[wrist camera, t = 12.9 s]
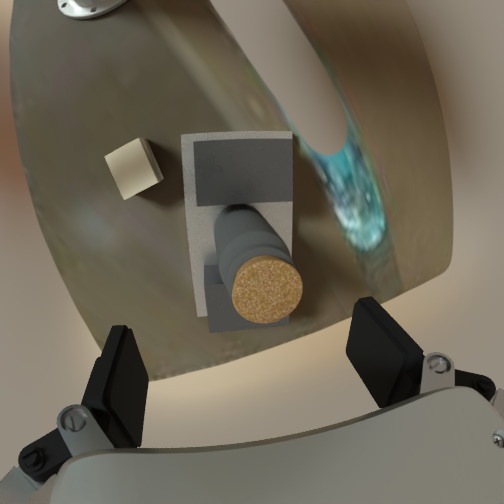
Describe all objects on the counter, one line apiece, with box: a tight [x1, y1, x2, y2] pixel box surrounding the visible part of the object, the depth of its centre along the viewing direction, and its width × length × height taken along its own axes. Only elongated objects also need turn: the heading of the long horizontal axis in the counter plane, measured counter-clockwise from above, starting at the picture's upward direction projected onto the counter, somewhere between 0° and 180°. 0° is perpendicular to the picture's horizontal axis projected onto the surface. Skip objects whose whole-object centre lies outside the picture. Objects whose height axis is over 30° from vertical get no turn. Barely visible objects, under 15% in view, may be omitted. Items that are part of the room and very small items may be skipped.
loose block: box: [105, 138, 164, 200], centre depth 27 cm, size 5×4×4 cm
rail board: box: [181, 131, 293, 333], centre depth 30 cm, size 22×12×6 cm, turn 2°
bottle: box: [214, 204, 303, 323], centre depth 25 cm, size 6×6×15 cm
